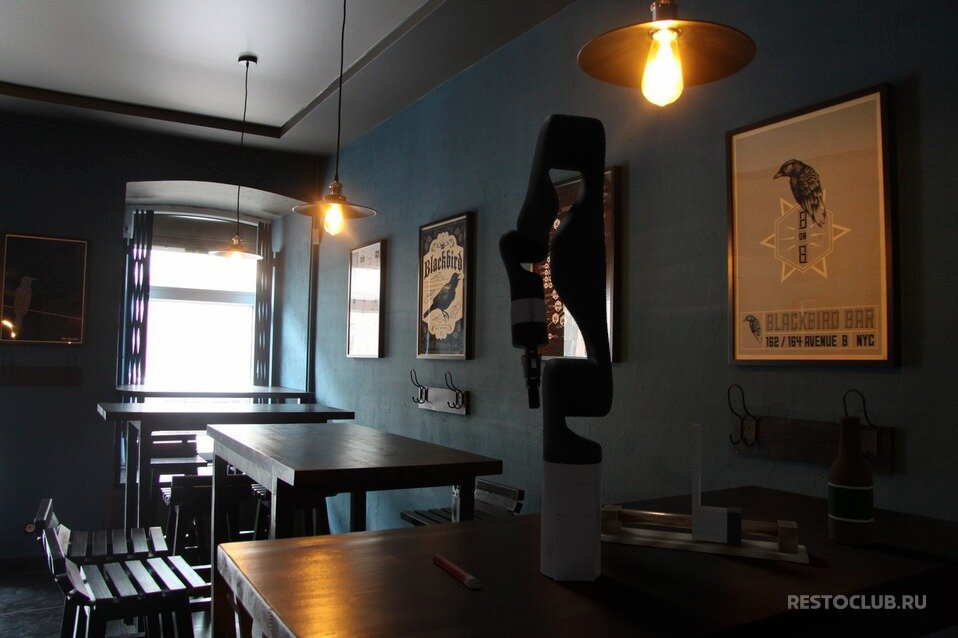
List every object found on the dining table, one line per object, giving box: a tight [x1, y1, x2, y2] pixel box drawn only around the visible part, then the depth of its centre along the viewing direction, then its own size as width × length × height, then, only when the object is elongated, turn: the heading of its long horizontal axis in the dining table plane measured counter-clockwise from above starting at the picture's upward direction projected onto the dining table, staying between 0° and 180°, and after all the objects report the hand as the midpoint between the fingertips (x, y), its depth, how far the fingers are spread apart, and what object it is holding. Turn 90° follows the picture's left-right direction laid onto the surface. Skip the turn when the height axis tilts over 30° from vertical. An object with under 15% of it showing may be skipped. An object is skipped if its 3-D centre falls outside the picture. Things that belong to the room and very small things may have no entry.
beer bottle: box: [827, 415, 875, 547], centre depth 137 cm, size 8×8×24 cm
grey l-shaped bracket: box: [691, 423, 728, 543], centre depth 130 cm, size 6×6×20 cm
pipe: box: [618, 508, 779, 538], centre depth 130 cm, size 32×3×3 cm, turn 70°
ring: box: [726, 506, 743, 546], centre depth 128 cm, size 2×6×6 cm, turn 160°
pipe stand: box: [601, 504, 810, 564], centre depth 130 cm, size 37×9×5 cm, turn 70°
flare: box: [432, 552, 482, 590], centre depth 108 cm, size 2×15×2 cm, turn 25°
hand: (534, 408), depth 142 cm, fingers closed
